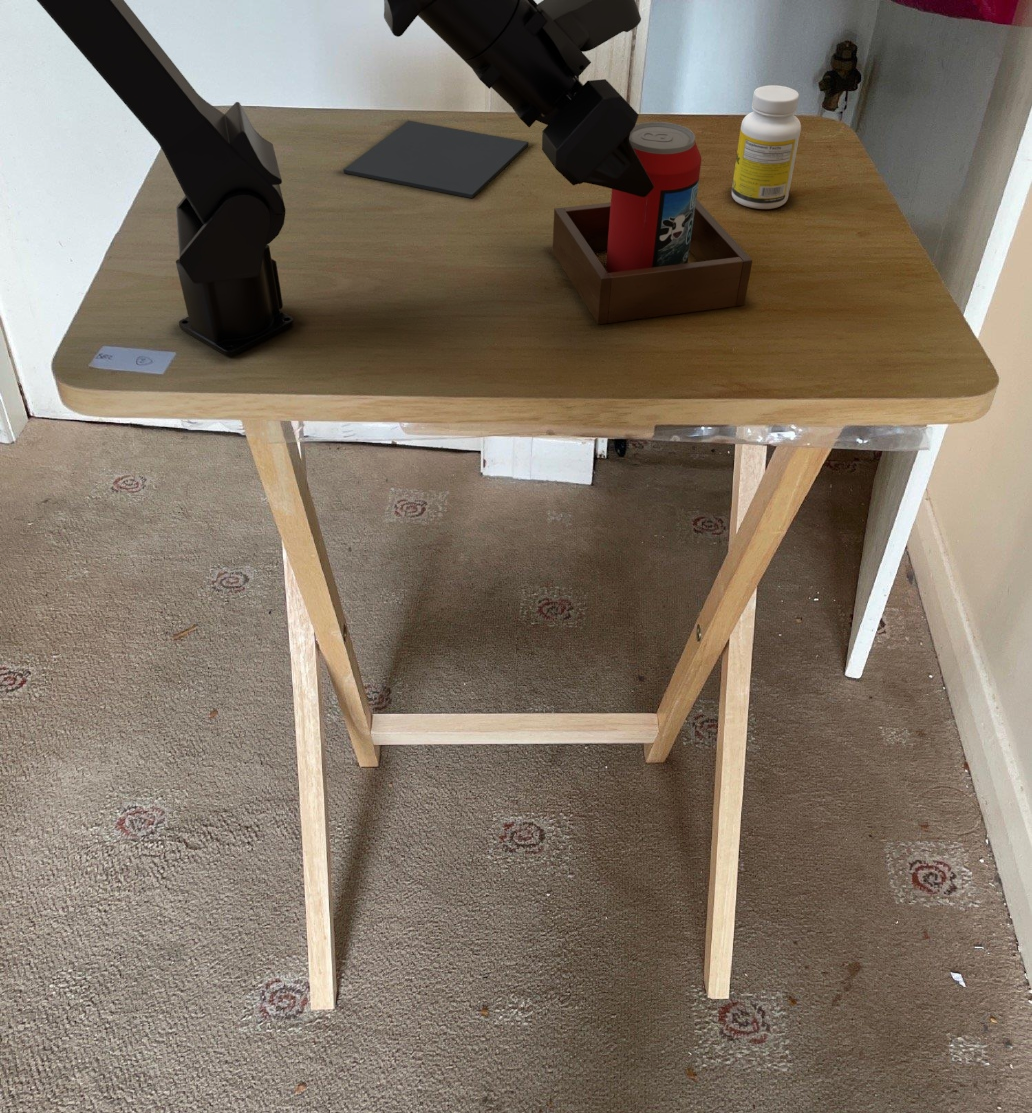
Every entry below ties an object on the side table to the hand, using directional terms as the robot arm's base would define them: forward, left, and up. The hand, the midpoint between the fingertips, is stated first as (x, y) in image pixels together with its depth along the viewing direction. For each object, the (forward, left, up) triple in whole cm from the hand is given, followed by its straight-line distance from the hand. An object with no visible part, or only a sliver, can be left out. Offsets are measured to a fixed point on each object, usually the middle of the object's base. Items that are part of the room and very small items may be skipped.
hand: (628, 166), depth 81 cm
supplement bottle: (+22, 0, -10) cm, 24 cm away
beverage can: (+2, -1, -10) cm, 10 cm away
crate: (+2, -1, -10) cm, 10 cm away
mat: (+8, +29, -10) cm, 31 cm away
